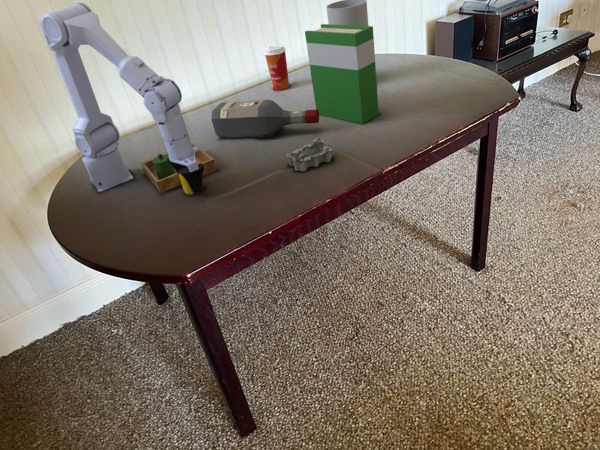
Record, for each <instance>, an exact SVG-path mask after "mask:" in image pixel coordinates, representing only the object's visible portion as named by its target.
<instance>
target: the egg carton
mask: <svg viewBox="0 0 600 450" xmlns="http://www.w3.org/2000/svg"><path fill="white" fill-rule="evenodd" d="M332 151H334V149H333V148H332V147H330V146H329V145H327V144H326V142H325V141H324V140H323V139H322V138H321V137H318V138H317V137H316V138H314V139H312V140H310V141H309V143H308V144H304V145H303V146H302V147H300V148H297V149H295V150H293V151H292V152H290V153H286V154H285V156H286V158H287V160H288V165H289V166H290V167H294V171H297V172H298V171H299V172H303V173H304V172H307V169H308V168H310V167H314V168H317V167H319V165H320V163H329V162H331V159H332V158H333V153H332Z"/></svg>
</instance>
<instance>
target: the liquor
mask: <svg viewBox="0 0 600 450" xmlns="http://www.w3.org/2000/svg"><path fill="white" fill-rule="evenodd" d="M210 119H211V123H212V126H213V130H214V133H215V136H217V137H218V138H219V139H237V138H238V139H239V138H240V139H241V138H253V139H263V138H265V139H266V138H272V137H275V135H276V134H278V133H279V131H281V130H282V129H283V128H284V126H287V125H295V124H296V125H297V124H318V123H319V122H320V115H319V111H318V110H316V109H306V110H284V108H282V107H281V106H280V105H279V104H278V103H276V102H275V101H274V100H272V99H259V100H244V101H243V100H241V101H239V100H238V101H225V102H223V101H222V102H220V103H219V104H218V105H217V106H215V108H213V109H212V111H211V118H210Z"/></svg>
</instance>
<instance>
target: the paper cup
mask: <svg viewBox="0 0 600 450" xmlns="http://www.w3.org/2000/svg"><path fill="white" fill-rule="evenodd" d="M286 51H287V49H286V48H285V46H284V45H283V44H274V45H270V46H267V47H265V48H264V52H263V55H264V57H265V59H266V65H267V68H268V72H269V76H270V80H271V83H272V87H273V90H274V91H277V92H278V91H284V90H287V89H289V88H290V80H289V72H288V71H289V70H288V63H287V56H286Z"/></svg>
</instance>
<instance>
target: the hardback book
mask: <svg viewBox="0 0 600 450" xmlns="http://www.w3.org/2000/svg"><path fill="white" fill-rule="evenodd" d="M304 37H305V41H306V43H305V44H306V51H307V56H308V57H307V58H308V65H309V70H310V71H309V72H310V78H311V85H312V90H313V97H314V103H315V104H314V105H315V110H318V111H319V116H324V117H329V118H333V119H338V120H342V121H347V122H353V123H357V124H360V125H361V124H362V125H364V124H365V123H367V122H368V121H370V120H372V119H373V118H375V117H377V116H378V115H379V114H380V110H379V96H378V83H377V82H378V81H377V68H376V67H377V65H376V52H375V38H374V37H375V36H374V26H373V25H368V26H355V25H332V24H328V23H322V24H320V28H317V29H316V30H305V31H304Z"/></svg>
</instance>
